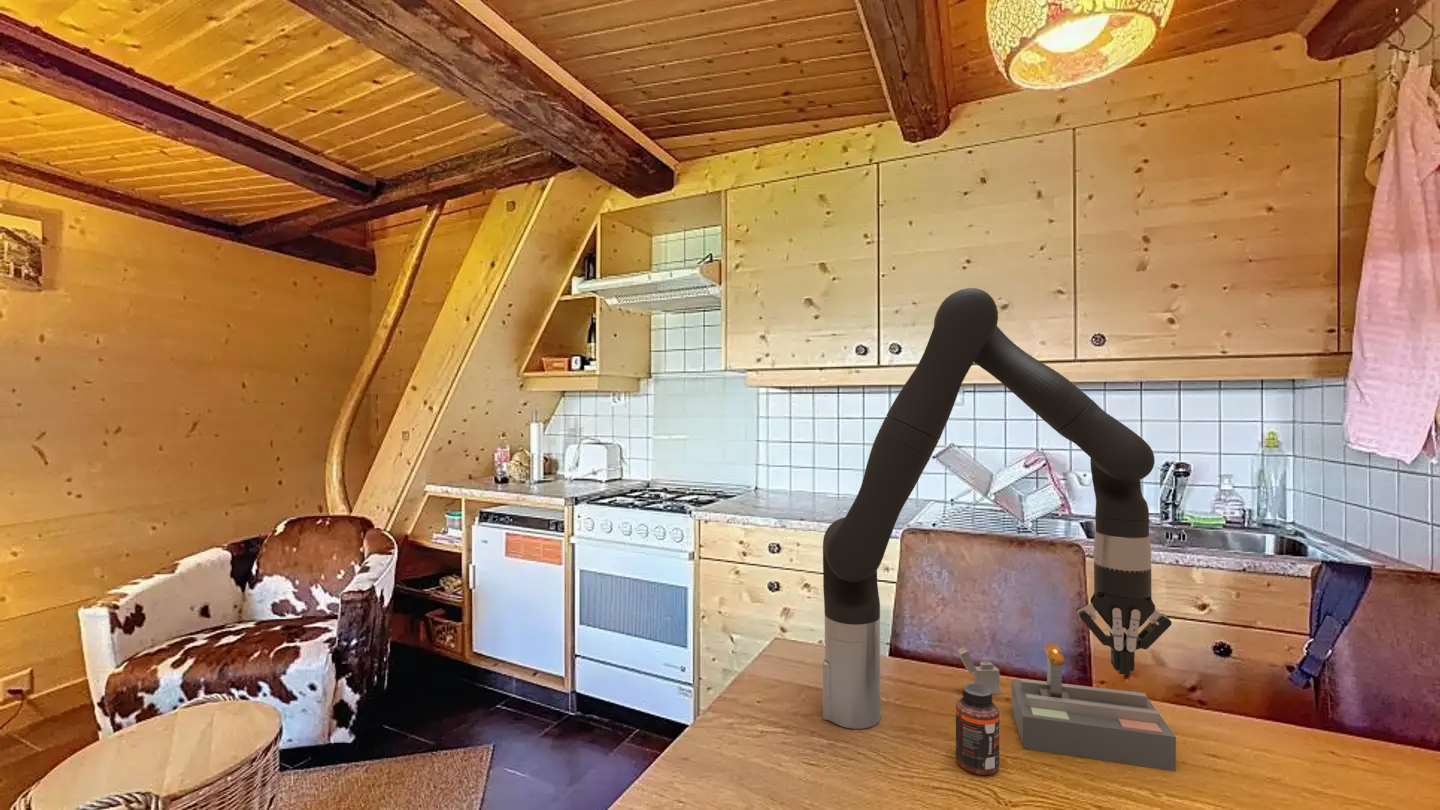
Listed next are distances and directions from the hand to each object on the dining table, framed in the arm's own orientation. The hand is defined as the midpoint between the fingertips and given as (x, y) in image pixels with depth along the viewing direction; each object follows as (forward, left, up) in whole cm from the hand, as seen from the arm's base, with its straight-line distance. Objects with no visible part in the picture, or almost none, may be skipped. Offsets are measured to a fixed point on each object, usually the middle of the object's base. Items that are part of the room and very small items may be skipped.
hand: (1122, 672), depth 98 cm
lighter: (-20, +11, -11) cm, 25 cm away
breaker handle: (-10, 0, -6) cm, 11 cm away
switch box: (-5, 0, -11) cm, 12 cm away
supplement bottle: (-22, -13, -11) cm, 28 cm away
